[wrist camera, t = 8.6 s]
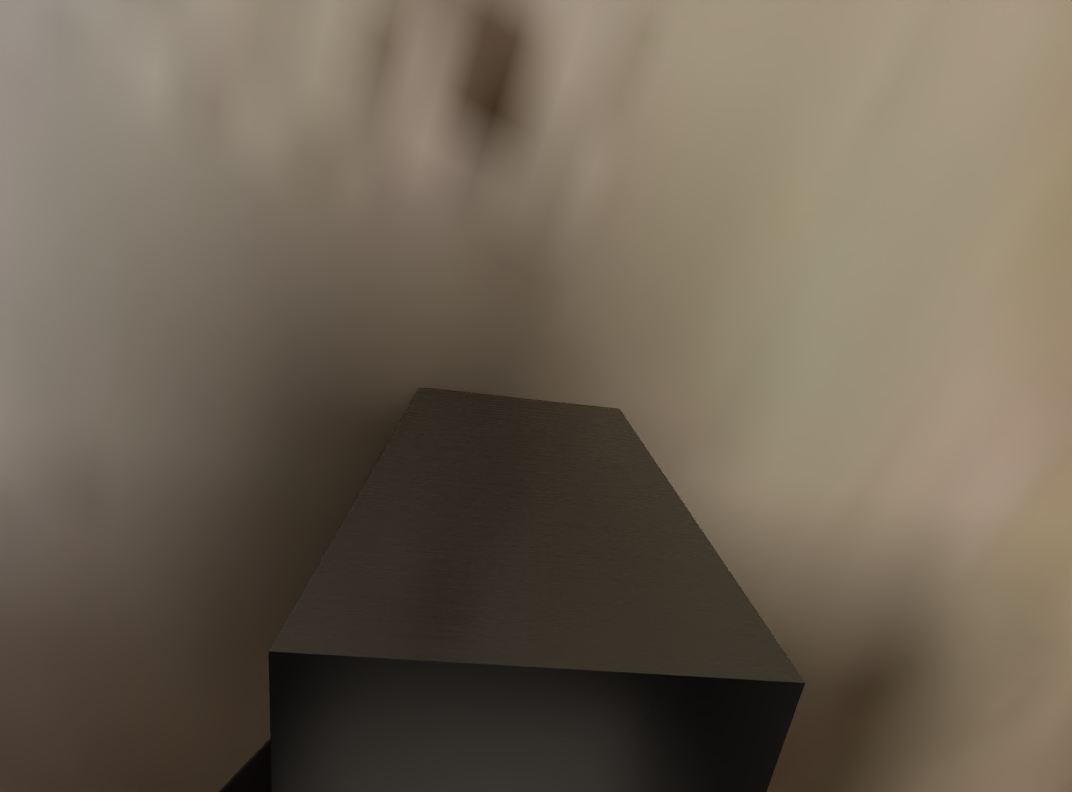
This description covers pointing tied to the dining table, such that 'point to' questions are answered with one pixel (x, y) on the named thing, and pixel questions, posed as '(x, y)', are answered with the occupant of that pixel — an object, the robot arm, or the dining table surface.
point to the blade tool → (523, 622)
